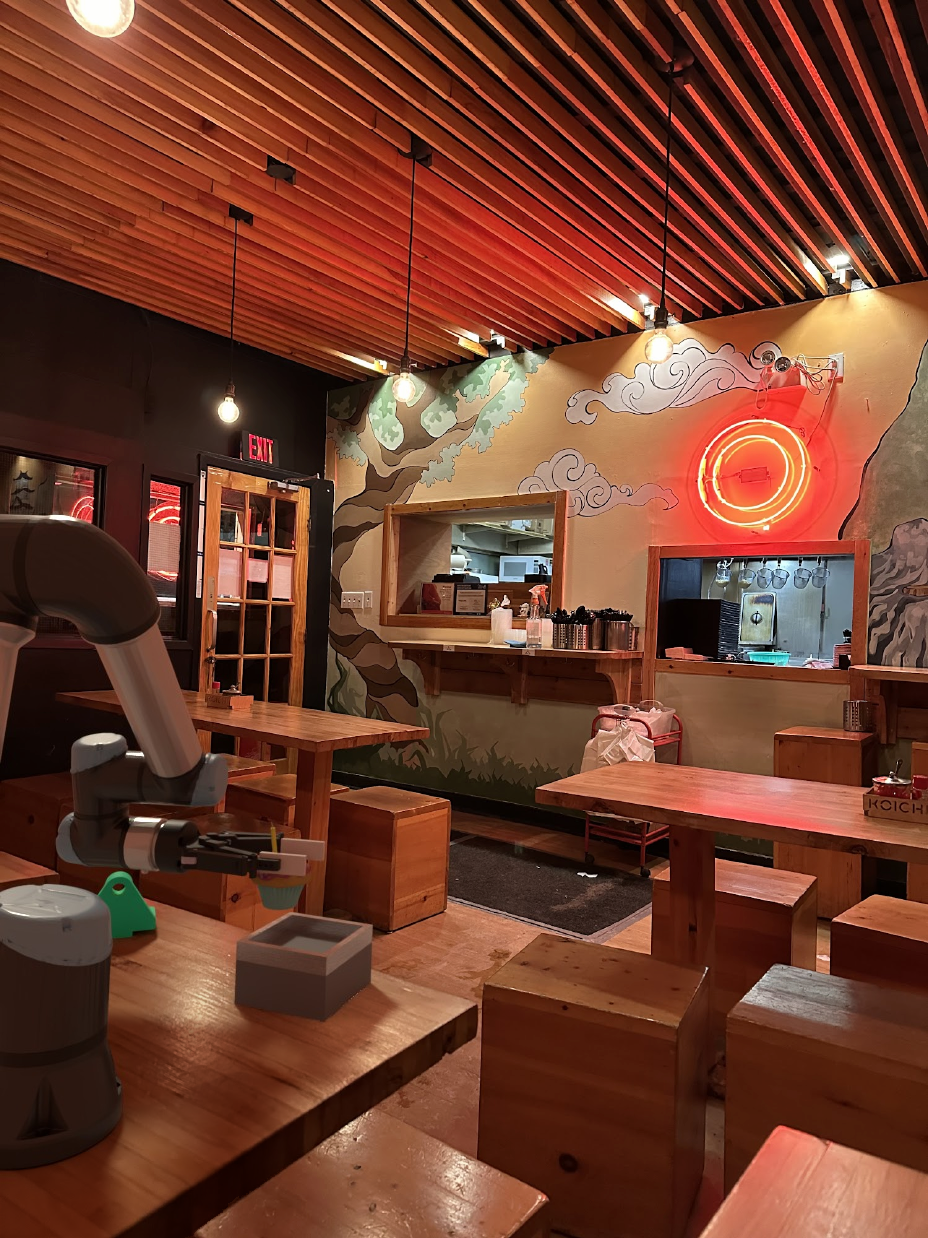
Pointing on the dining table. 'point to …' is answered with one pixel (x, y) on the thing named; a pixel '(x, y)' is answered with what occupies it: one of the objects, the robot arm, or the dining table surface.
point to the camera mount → (126, 907)
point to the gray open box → (302, 981)
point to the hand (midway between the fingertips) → (314, 858)
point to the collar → (264, 953)
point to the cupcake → (280, 885)
